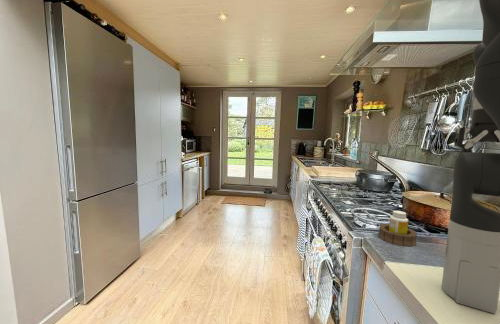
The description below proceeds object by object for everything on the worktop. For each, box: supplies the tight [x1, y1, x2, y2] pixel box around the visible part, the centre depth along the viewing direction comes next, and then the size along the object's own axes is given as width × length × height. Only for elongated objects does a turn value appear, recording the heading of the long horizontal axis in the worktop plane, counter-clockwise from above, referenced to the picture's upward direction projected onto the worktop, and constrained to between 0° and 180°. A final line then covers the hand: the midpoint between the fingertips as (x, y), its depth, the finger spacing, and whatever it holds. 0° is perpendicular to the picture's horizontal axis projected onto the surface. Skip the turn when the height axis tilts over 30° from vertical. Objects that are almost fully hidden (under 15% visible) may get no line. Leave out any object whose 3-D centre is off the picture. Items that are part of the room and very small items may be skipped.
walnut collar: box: [378, 223, 418, 247], centre depth 81 cm, size 11×11×4 cm
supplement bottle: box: [389, 210, 409, 235], centre depth 81 cm, size 6×6×10 cm
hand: (483, 161), depth 68 cm, fingers open, 8 cm apart
